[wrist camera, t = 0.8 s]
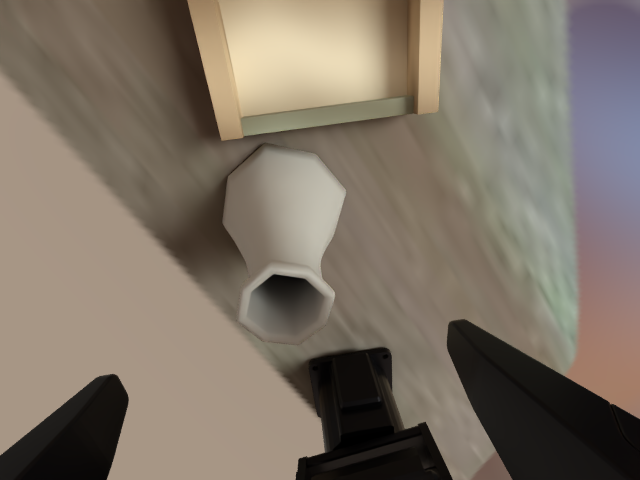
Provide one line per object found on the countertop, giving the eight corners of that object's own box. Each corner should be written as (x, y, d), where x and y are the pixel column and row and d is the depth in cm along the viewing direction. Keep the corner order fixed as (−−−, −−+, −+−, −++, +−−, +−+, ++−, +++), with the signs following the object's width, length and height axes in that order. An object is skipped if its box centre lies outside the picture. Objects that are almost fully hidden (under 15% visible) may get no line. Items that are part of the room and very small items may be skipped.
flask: (202, 225, 20) (135, 346, 11) (258, 117, 17) (231, 156, 8) (304, 274, 22) (320, 407, 13) (366, 184, 20) (436, 271, 11)
